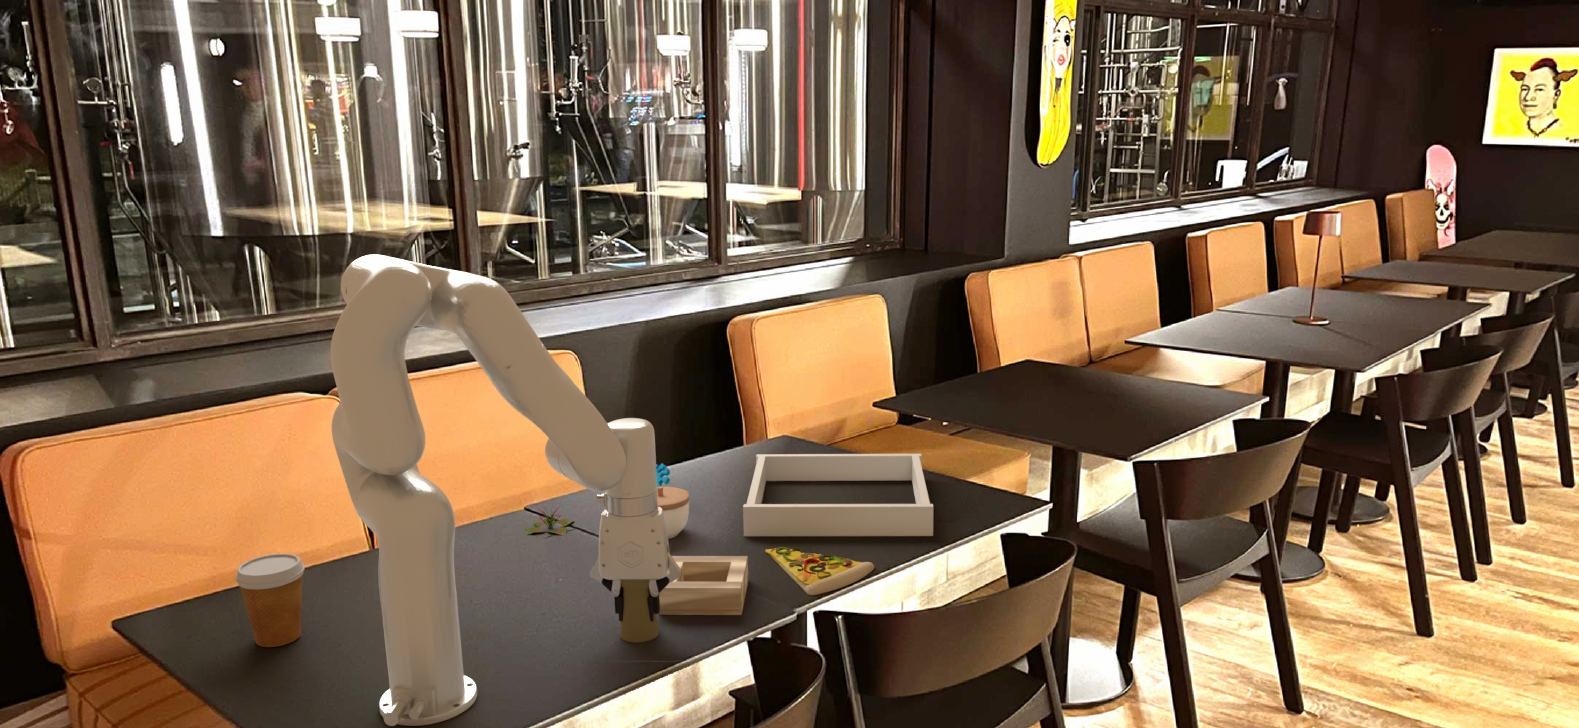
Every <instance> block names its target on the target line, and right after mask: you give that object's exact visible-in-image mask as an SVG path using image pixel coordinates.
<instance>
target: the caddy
mask: <svg viewBox="0 0 1579 728" xmlns="http://www.w3.org/2000/svg"><path fill="white" fill-rule="evenodd" d="M671 556H672V558H673V559H674V560H675V562H676V563H677V565H678V566H679V567H680V569H681V570H682V573H681V576H680V577H679V578H678V579H676V580H674V581H673V582H671V583H669V584H668V585H667V586H666V587H665V588H664V589H663V590H662V591H661V592H660V593H659V599H660V612H659V614H658V615H659V616H665V615H666V616H670V615H671V616H674V615H677V616H687V615H688V616H742V614H743V610H744V606H745V605H744V604H745V599H746V594H747V589H748V583H749V562H748V561H749V558H748V557H749V556H748V555H671ZM668 572H669V570H668V569H667V573H668ZM667 573H666V574H667Z"/></svg>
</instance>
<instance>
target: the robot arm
mask: <svg viewBox="0 0 1579 728" xmlns="http://www.w3.org/2000/svg"><path fill="white" fill-rule="evenodd" d="M340 290H341V295H342V297H343V300H344V302H345V303H346V306H345V307H344V309H343V310H342V313H341V314H340V317H339V318H338V320H337V323H336V326H335V328H334V331H333V334H332V337H331V342H330V362H331V363H330V364H331V368H332V374H333V377H334V382H335V385H336V390H337V394H338V398H339V403H338V405H337V407H336V408H335V410H334V413H333V415H332V421H331V437H332V442H333V445H334V448H335V452H336V456H337V458H338V463H339V465H340V469H341V473H342V474H343V478H344V481H345V484H346V488H347V490H348V495H349V496H350V500H351V502H352V505H353V507H354V511H356V514H357V515H358V517H359V519H360V520H361V521H362V522H363V523H364V525H365V526H366V527H368V528H369V530H370V531H371V532H372V533H373V534H374V535H375V536H376V539H377V542H378V564H377V565H378V566H377V568H378V569H377V573H378V574H377V576H378V577H377V578H378V588H379V589H378V590H379V592H378V593H379V599H380V606H381V607H380V608H381V609H380V610H381V617H382V626H383V637H384V645H385V647H384V648H385V654H386V664H387V674H388V684H389V689H388V690H386V691H385V692H384V693H383V694H382V696H381V697H380V699H379V701H378V708H379V713H380V715H381V717H382V718H383V722H384V723H385V724H386V725H387V726H390V727H394V726H396V725H400V726H405V727H406V726H407V727H412V726H413V727H418V726H420V727H421V726H428V725H433V724H438V723H441V722H444V721H448V720H450V719H453V718H455V717H457V716H459V715H461V714H463V712H465V711H467V710H468V709H469V708H471V706H472V705H474V703H475V701H476V699H477V697H478V686H477V684H476V682H475V681H474V680H473V679H472V678H470V677H468V676H467V675H465V674H464V666H463V664H464V663H463V655H462V653H463V651H462V641H461V629H460V628H461V627H460V619H459V607H458V596H457V595H458V594H457V586H456V577H455V576H456V575H455V574H456V573H455V560H454V559H455V551H454V550H455V535H456V517H455V511H454V509H453V505H452V502H451V501H450V499H449V498H448V497H447V495H446V493H444V491H443V490H442V489H441V488H440V487H439V486H438V485H436V484H435V483H434V482H433V481H432V480H430V479H428V478H427V477H426V476H424V475H422V474H421V472H420V470H419V467H418V463H419V462H420V461H421V459H422V457H423V455H424V453H425V448H426V432H425V428H424V424H423V421H422V418H421V416H420V413H419V409H418V407H417V403H416V400H415V396H414V393H413V389H412V386H411V383H410V379H409V374H408V369H407V363H406V357H405V352H406V351H405V348H406V344H407V341H408V339H409V336H410V334H411V333H412V331H413V330H414V328H415V327H420V328H425V329H434V330H441V331H447V332H450V333H453V334H456V336H457V337H458V339H460V342H462V343H463V345H464V346H465V348H466V349H467V350H468V352H469V353H470V354H471V356H472V357H473V359H474V360H475V361H476V362H477V364H478V365H479V367H480V368H481V369H482V370H483V372H484V373H485V375H486V376H487V378H488V379H489V381H490V382H491V384H492V385H493V386H494V388H495V389H496V391H497V392H498V393H499V395H500V396H501V397H502V398H503V400H505V401H506V402H507V403H508V404H509V405H510V406H511V407H512V408H513V409H514V410H516V412H518V413H520V414H521V415H522V416H524V417H525V418H526V419H528V420H529V421H530V422H532V423H533V424H534V425H535V426H536V427H537V428H538V429H540V431H541V432H542V433H544V434H545V436H547V438H548V439H547V440H546V444H545V446H544V447H545V448H544V454H545V458H546V460H547V462H548V464H549V466H550V468H552V469H553V470H554V471H555V472H557V473H559V474H560V475H562V476H563V477H565V478H567V479H569V480H571V481H573V482H575V483H577V484H578V485H580V486H582V487H583V488H585V489H586V490H590V491H593V492H604V491H605V492H604V493H602V494H597V495H596V497H595V498H596V499H595V501H596V504H597V505H599V504H600V505H604V507H605V509H604V510H603V511H602V512H601V514H600V515H601V516H600V519H599V520H600V521H599V529H598V530H599V532H598V558H597V560H596V562H595V564H594V565H593V567H592V568H591V570H590V572H589V576H590V578H592V579H594V580H595V581H597V582H599V583H601V584H602V585H603V586H604V588H606V589H607V590H608V591H610V593H611V596H612V597H614V598H613V599H614V613H615V614H616V615H617V614H618V622H620V621H623V587H622V586H621V582H620V580H650V582H649V589H650V591H649V594H650V595H649V597H648V598H647V601H648V608H649V617H650V621H654V614H656V615H659V612H660V599H659V593H660V592H661V591H662V590H663V589H664V588H665V587H666V586H667V585H668V584H669V583H671V582H673V581H674V580H676V579H678V578H679V577H680V576H681V573H682V570H681V569H680V567H679V566H678V565H677V563H676V562H675V560H674V559H673V558H672V556H673V555H671V554H670V553H671V552H670V544H669V539H668V534H667V528H666V523H665V518H664V514H663V511H662V508H661V507H658V498H657V475H656V464H657V460H656V459H657V456H656V453H657V452H656V435H655V429H654V426H653V424H652V423H651V422H650V421H649V420H647V419H643V418H637V417H625V418H619V419H615V420H612V421H609V422H607V421H606V420H605V418H604V417H603V415H602V413H601V412H600V411H599V410H598V409H597V408H596V406H595V405H594V404H593V403H592V402H591V400H590V399H589V398H588V397H587V396H586V394H584V393H583V392H582V390H581V389H580V388H579V387H578V385H576V384H575V382H574V381H573V380H572V378H571V377H570V376H569V375H568V374H567V373H566V371H564V370H563V368H562V367H561V366H560V365H559V364H558V363H557V362H556V360H555V359H554V358H553V356H552V355H551V354H550V352H549V350H547V347H546V346H545V345H544V343H543V342H542V341H541V339H540V338H539V336H538V335H537V333H536V331H535V330H534V328H533V327H532V326H531V324H530V323H529V321H528V320H527V317H525V315H524V314H523V312H522V311H521V309H520V308H519V307H518V305H517V304H516V301H515V300H514V299H513V297H512V296H511V295H510V294H509V292H508V291H507V290H506V288H504V286H503V285H501V284H500V283H499V282H497V281H496V280H494V279H492V278H489V277H486V276H482V275H479V274H474V273H472V272H468V271H467V272H466V271H461V270H455V269H448V268H444V267H438V266H432V265H429V264H428V265H427V264H424V263H419V262H416V261H415V262H414V261H410V260H406V259H401V258H397V257H392V256H388V255H385V254H384V255H382V254H374V253H373V254H367V255H364V256H361V257H359V258H357V259H355V260H354V261H352V262H351V263H350V264H349V265H348V266H347V267H346V269H345V270H344V272H343V273H342V277H341V279H340ZM667 569H668V570H669V572H668V573H667ZM666 573H667V574H666Z"/></svg>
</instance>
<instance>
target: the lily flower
mask: <svg viewBox="0 0 1579 728" xmlns="http://www.w3.org/2000/svg"><path fill="white" fill-rule="evenodd" d="M553 507H554V506H553V505H552V506H551V510H550V511H551V513H550V516H549V513H548V511H547V510H546V507H545V506H543V508H544V510H545V511H546V512H545V511H543V510H541V509H540V508H539V509H538V508H537V510H538V511H539V512H541V513H542V514H543V515H544V516H545V518H544V516H542V515H539V517H538V519H539V520H540V521H541V522H538V521H534V522H533V524H534V525H535V526H533V527H530V528H527V529H524V530H525V533H524V534H526V535H528V534H532V533H545V532H546V533H554V534H556V535H560V536H563V535H567V532H568V530H567V527H566V526H568V525H570V524H571V523H572V522H573V520H572V519H570V518H563V519H560V518H561V517H562V514H559V513H557V514H556V515H555V513H556V512H557V511H558V509H559V508H560V506H558V507H557V508H556V509H555V510H554V511H552V509H553ZM554 516H555V517H554ZM544 524H545V526H546V527H547V528H548V529H552V528H553V527H554V525H555V524H561V527H560V528H559V529H558V530H553V531H551V530H550V531H549V530H548V531H546V530H543V531H542V530H540V527H541V526H543V525H544ZM573 527H577V525H576V524H573ZM572 530H574V529H573V528H571V531H572ZM531 532H532V533H531ZM554 534H551V535H550V534H549V535H548V536H546V538H549V537H550V536H553V535H554ZM562 534H563V535H562ZM535 535H536V537H537V538H538V539H540V535H539V534H535Z"/></svg>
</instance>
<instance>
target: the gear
mask: <svg viewBox="0 0 1579 728" xmlns="http://www.w3.org/2000/svg"><path fill="white" fill-rule="evenodd" d="M670 474H671V470H670V469H669V468H668V467H667V465H665V464H664V463H660V464H657V463H656V475H657V487H663V486H662V484H663V483H664V484H665V485H669V483H670V481H671V478H670V477H668V476H669V475H670Z"/></svg>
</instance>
